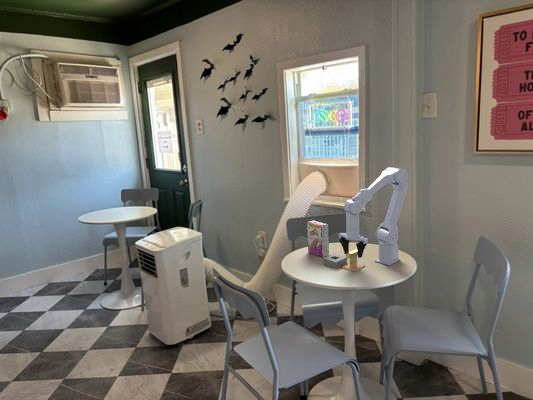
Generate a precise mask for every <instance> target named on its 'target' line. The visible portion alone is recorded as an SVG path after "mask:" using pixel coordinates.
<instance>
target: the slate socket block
mask: <svg viewBox="0 0 533 400" xmlns="http://www.w3.org/2000/svg"><path fill="white" fill-rule="evenodd" d="M322 264H323V265H325V266H328V267H330V268H335V269H338V268H341V267H342V266H345V265H347V264H348V258H346V256H344V255H340V254H336V253H331V254H329V256H326V257H322Z"/></svg>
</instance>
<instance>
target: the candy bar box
mask: <svg viewBox="0 0 533 400" xmlns="http://www.w3.org/2000/svg"><path fill="white" fill-rule="evenodd" d="M306 230H307V231H306V233H307V252H308V253H309V254H312V255H315V256H318V257H320V258H324V257H327V256H329V255H330V245H329V244H330V241H329V238H330V237H329V236H330V235H329V224H327V223H324V222H320V221H318V220H311V221H310V220H309V221H307V222H306Z"/></svg>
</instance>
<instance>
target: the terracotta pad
mask: <svg viewBox="0 0 533 400" xmlns="http://www.w3.org/2000/svg"><path fill="white" fill-rule="evenodd" d="M365 267H366V265H364V264H361V263H358V262H357V266H356V267H354V268H353V267H350V262H349V263H347V264H345V265H343V266H341V269H345V270H347V271H350V272H353V273H355V272H357V271H359V270H361V269H363V268H365Z"/></svg>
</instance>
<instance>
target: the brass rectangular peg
mask: <svg viewBox="0 0 533 400" xmlns="http://www.w3.org/2000/svg"><path fill="white" fill-rule="evenodd" d="M345 257H346V258H347V259H349V263H350V267H353V268H354V267H356V266H357V263H358V250H357V248H355V249H353V250H349V252H348V253H346V254H345Z"/></svg>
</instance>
